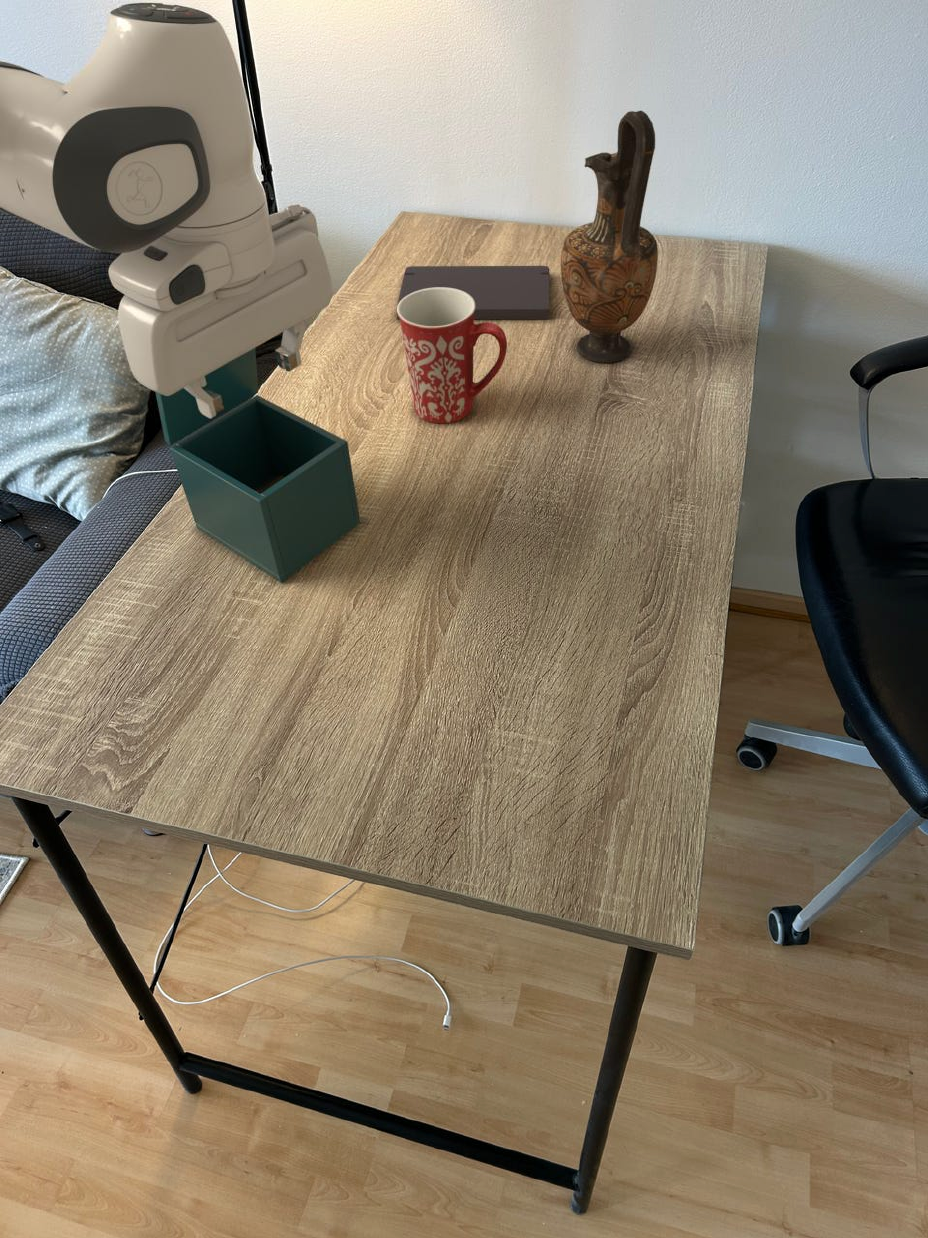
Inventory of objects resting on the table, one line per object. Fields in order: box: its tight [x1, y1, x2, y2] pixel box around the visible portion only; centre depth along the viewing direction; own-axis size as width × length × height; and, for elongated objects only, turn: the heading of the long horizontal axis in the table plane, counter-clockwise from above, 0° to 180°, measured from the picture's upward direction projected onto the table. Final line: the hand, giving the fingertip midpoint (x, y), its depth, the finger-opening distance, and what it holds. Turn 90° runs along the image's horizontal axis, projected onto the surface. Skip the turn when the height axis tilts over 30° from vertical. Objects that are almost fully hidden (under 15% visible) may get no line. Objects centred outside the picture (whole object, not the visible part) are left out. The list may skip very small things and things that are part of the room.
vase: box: [560, 110, 659, 364], centre depth 107 cm, size 12×12×30 cm
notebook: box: [395, 265, 551, 320], centre depth 129 cm, size 13×2×21 cm
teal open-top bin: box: [169, 394, 361, 583], centre depth 93 cm, size 14×12×11 cm
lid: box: [155, 347, 259, 447], centre depth 87 cm, size 14×12×5 cm
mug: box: [396, 287, 508, 424], centre depth 106 cm, size 13×9×14 cm
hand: (252, 389), depth 82 cm, fingers open, 8 cm apart
